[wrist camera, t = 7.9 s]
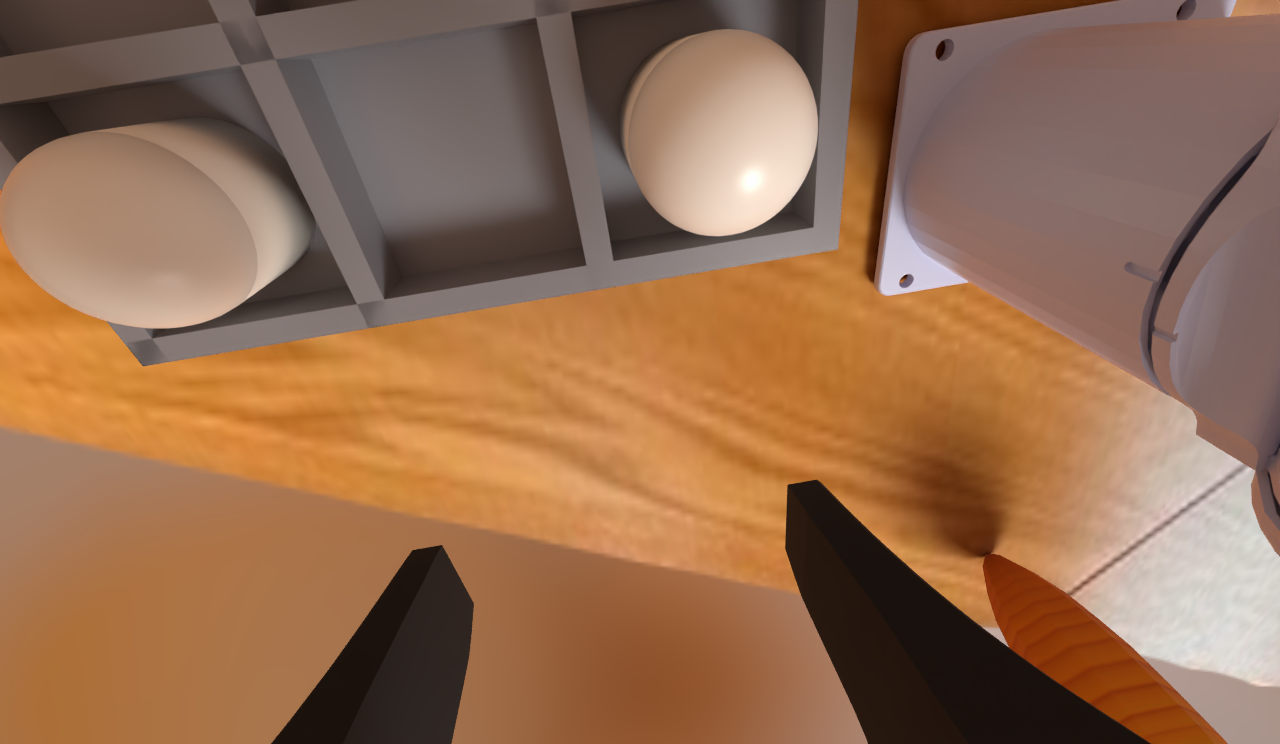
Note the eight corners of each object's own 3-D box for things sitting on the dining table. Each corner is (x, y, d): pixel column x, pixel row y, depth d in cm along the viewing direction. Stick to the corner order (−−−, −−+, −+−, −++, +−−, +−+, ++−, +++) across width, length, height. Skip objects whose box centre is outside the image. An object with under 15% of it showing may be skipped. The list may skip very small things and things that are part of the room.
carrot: (974, 522, 27) (1329, 940, 14) (1049, 527, 28) (1446, 923, 15) (928, 580, 29) (1195, 979, 17) (999, 583, 30) (1303, 962, 17)
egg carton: (848, -537, 9) (1150, -1212, 4) (809, 228, 17) (902, 296, 12) (-307, -367, 9) (-1372, -880, 4) (191, 332, 17) (31, 444, 12)
